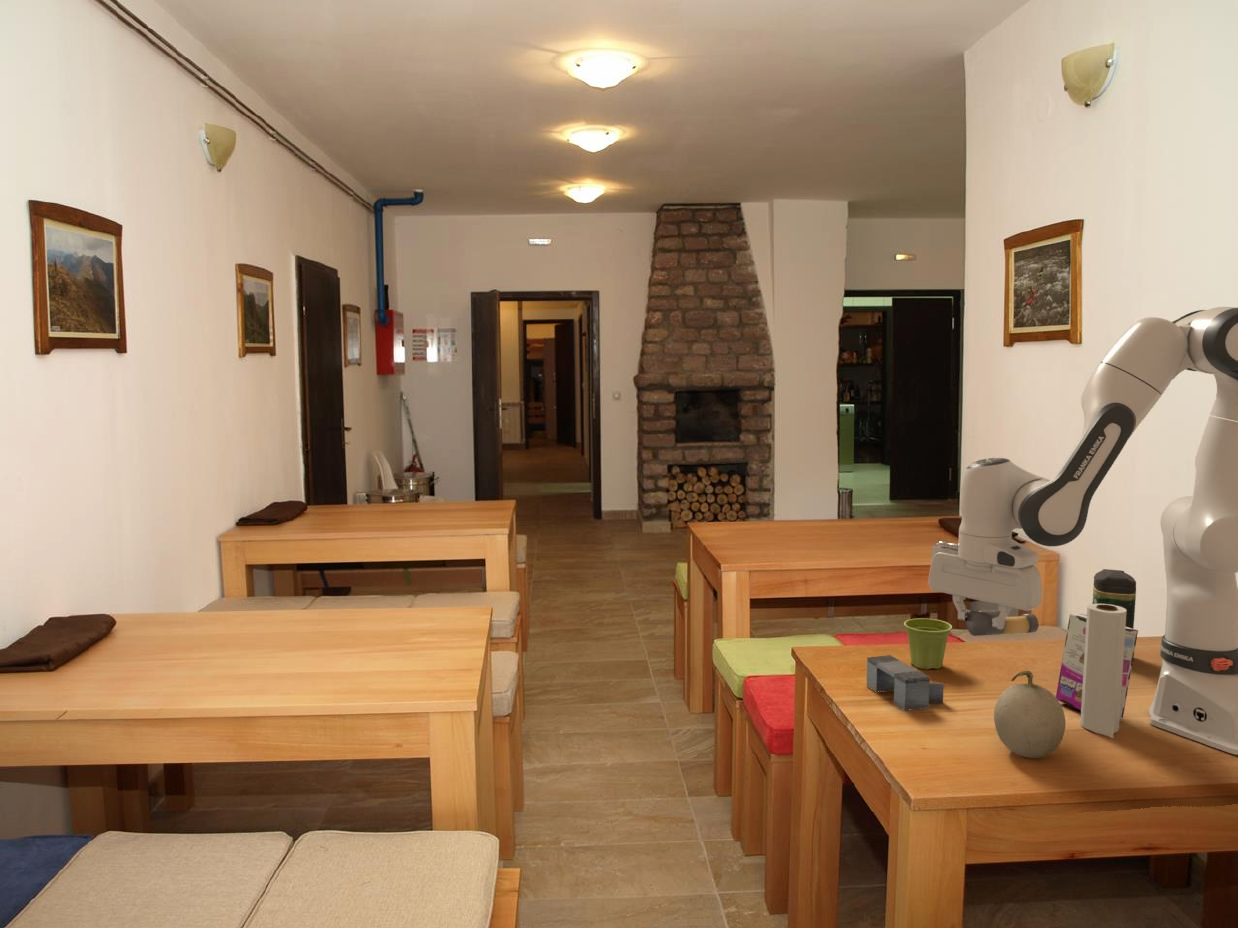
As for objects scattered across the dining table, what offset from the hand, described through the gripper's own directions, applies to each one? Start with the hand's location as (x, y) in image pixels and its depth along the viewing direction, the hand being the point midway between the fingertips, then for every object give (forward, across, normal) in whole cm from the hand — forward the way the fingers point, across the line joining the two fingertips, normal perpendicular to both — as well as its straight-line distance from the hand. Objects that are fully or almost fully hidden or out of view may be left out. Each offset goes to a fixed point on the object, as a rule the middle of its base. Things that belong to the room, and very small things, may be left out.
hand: (980, 624), depth 173 cm
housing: (+16, -12, -5) cm, 20 cm away
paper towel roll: (+16, +18, +7) cm, 25 cm away
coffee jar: (+16, +3, +48) cm, 50 cm away
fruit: (+16, +16, -12) cm, 25 cm away
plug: (+2, +2, +4) cm, 5 cm away
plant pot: (+16, -19, +14) cm, 28 cm away
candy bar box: (+15, +14, +14) cm, 25 cm away
